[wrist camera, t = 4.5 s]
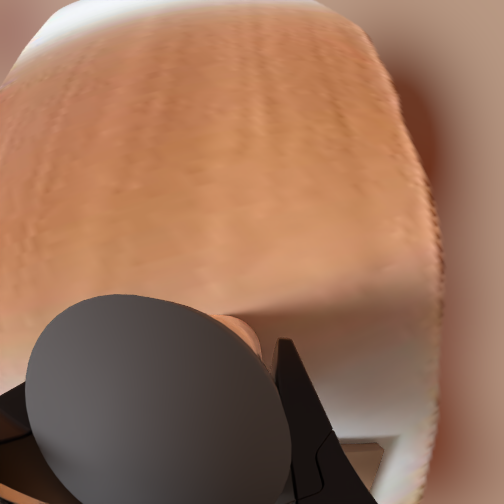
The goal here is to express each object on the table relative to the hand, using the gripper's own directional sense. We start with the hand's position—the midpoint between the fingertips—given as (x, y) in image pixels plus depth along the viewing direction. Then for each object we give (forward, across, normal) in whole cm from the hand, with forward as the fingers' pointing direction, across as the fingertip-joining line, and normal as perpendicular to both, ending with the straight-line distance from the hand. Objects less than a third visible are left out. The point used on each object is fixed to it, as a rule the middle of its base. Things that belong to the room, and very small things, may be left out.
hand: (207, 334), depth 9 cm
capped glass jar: (+4, 0, +6) cm, 7 cm away
